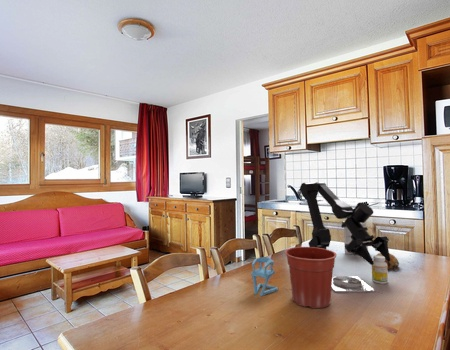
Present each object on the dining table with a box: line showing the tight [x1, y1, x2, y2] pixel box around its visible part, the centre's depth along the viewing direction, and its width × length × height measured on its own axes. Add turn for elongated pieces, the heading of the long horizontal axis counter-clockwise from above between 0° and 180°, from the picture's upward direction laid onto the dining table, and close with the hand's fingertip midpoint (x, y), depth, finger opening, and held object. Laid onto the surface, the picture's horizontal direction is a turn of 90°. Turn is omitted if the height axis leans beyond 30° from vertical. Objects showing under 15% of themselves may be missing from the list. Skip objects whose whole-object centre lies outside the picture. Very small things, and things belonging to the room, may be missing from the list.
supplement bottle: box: [371, 254, 389, 285], centre depth 109 cm, size 5×5×10 cm
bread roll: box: [372, 252, 400, 271], centre depth 127 cm, size 10×10×8 cm
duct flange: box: [331, 275, 376, 294], centre depth 107 cm, size 14×14×2 cm
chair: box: [250, 256, 279, 297], centre depth 103 cm, size 8×8×12 cm
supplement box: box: [343, 221, 369, 255], centre depth 151 cm, size 10×9×17 cm
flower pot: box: [284, 246, 337, 309], centre depth 94 cm, size 16×16×16 cm
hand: (381, 262), depth 109 cm, fingers open, 9 cm apart
